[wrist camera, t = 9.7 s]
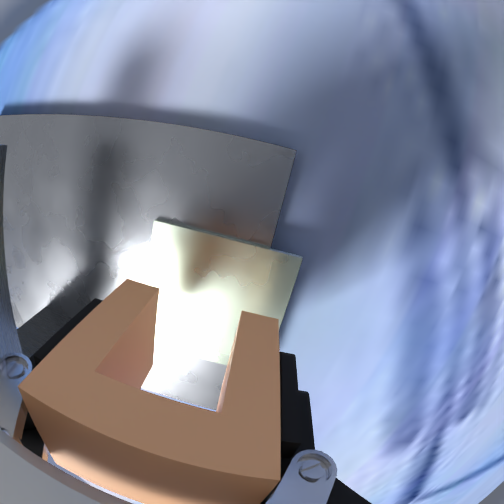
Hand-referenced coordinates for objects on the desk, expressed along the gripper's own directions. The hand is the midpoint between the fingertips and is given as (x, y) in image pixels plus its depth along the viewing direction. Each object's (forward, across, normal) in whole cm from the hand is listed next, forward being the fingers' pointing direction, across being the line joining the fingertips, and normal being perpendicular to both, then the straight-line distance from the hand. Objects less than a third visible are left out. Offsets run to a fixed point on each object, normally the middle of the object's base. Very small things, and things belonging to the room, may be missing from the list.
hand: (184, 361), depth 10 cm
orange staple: (+1, 0, 0) cm, 1 cm away
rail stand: (+6, +8, 0) cm, 9 cm away
